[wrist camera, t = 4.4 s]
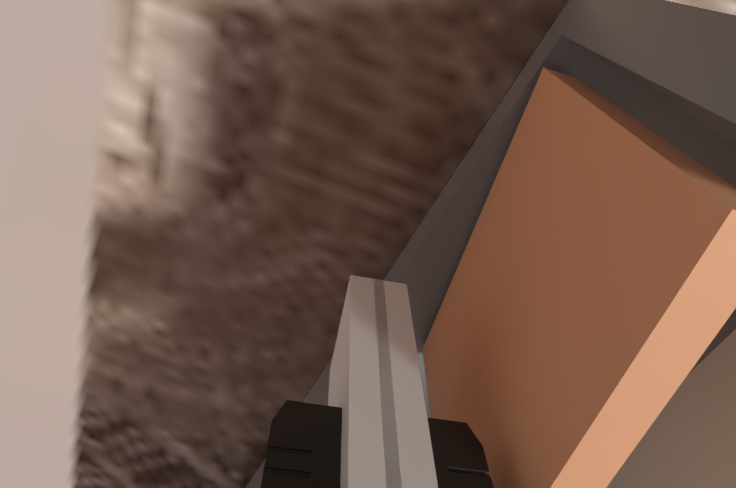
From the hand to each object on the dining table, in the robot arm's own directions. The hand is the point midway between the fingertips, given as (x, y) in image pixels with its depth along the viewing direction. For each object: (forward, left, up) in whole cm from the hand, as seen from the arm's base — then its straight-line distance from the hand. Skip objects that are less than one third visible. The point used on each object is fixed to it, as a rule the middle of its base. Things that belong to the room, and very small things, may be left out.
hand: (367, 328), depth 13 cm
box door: (-3, +2, -3) cm, 5 cm away
